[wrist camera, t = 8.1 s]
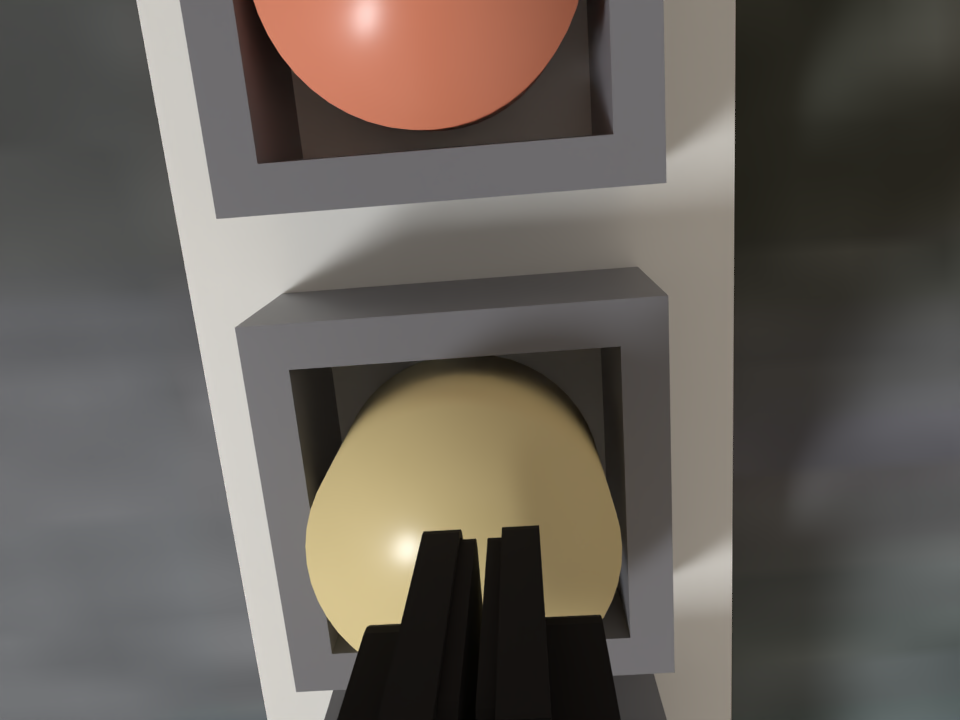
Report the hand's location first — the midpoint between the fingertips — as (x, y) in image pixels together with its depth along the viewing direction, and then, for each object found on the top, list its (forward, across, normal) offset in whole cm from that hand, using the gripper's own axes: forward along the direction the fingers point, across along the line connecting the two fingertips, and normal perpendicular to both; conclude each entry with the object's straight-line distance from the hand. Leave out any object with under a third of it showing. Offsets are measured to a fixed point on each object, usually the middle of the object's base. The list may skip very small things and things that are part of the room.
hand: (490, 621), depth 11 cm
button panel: (+8, +1, 0) cm, 8 cm away
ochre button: (+4, +1, 0) cm, 4 cm away
